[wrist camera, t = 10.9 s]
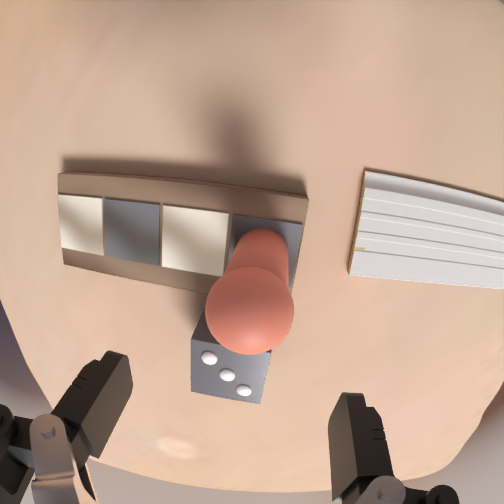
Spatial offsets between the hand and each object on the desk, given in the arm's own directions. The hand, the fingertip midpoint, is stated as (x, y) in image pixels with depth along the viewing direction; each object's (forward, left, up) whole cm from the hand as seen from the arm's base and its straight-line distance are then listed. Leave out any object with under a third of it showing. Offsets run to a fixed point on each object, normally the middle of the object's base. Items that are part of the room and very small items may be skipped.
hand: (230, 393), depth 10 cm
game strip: (0, -8, -16) cm, 18 cm away
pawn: (0, 0, -14) cm, 14 cm away
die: (+9, -1, -16) cm, 18 cm away
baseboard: (-4, +22, -17) cm, 28 cm away
